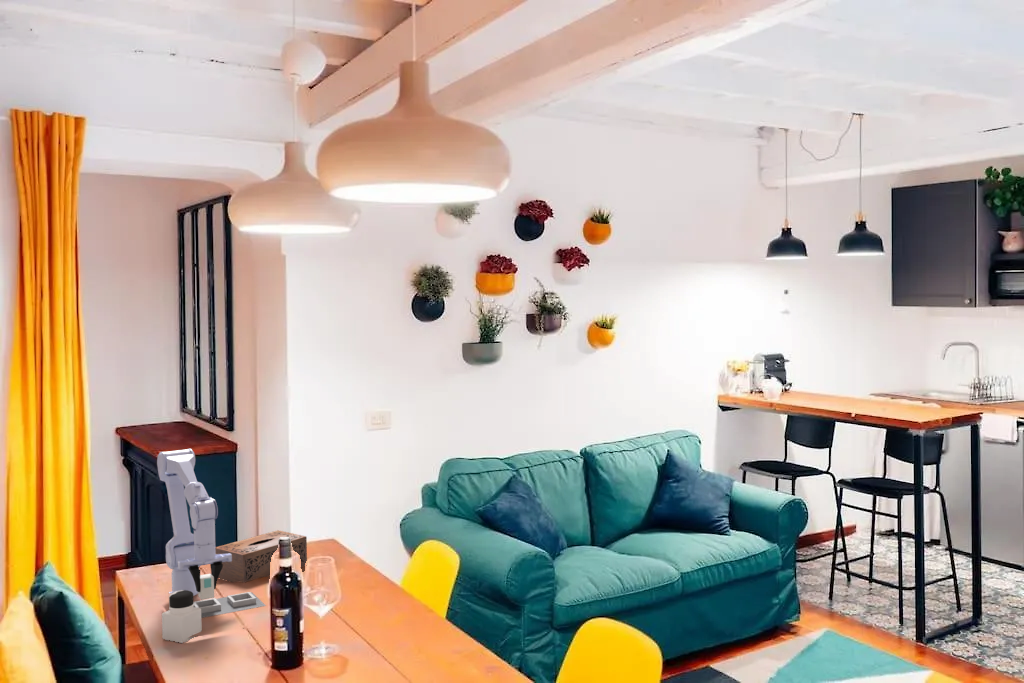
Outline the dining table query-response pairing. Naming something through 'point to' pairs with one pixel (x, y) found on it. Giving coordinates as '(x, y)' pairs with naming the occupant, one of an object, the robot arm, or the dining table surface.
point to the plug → (206, 586)
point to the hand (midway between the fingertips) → (206, 589)
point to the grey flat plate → (228, 604)
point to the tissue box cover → (256, 555)
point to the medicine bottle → (181, 617)
